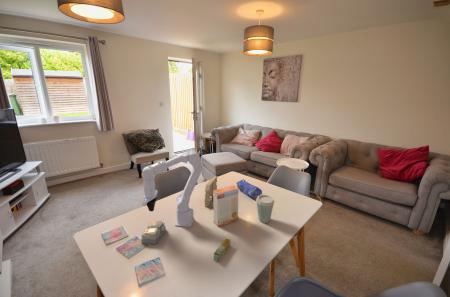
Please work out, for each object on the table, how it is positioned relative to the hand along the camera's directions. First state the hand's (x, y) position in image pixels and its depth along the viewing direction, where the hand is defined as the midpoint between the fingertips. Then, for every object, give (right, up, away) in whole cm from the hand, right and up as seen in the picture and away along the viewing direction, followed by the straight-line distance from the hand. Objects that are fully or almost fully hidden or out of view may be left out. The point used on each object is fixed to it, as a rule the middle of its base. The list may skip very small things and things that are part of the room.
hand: (151, 210), depth 113 cm
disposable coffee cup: (+65, -9, +9) cm, 66 cm away
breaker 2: (+3, -8, -9) cm, 13 cm away
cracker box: (+42, -9, +9) cm, 44 cm away
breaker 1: (+4, -7, -3) cm, 8 cm away
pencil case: (+60, -1, +42) cm, 73 cm away
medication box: (+40, -16, -16) cm, 46 cm away
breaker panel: (+3, -12, -5) cm, 13 cm away
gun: (+31, -2, +35) cm, 47 cm away
